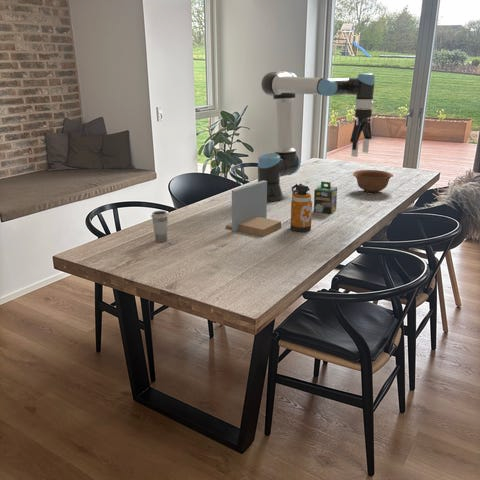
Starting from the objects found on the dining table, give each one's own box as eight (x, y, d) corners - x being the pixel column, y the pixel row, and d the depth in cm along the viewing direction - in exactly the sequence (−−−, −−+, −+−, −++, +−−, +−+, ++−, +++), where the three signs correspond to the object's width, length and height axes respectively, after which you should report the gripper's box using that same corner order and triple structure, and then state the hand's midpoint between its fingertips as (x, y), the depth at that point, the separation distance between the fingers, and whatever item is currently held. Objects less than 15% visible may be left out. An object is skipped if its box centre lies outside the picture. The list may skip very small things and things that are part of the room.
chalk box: (336, 209, 244) (338, 180, 239) (331, 214, 236) (333, 184, 231) (318, 207, 248) (320, 178, 243) (312, 212, 240) (314, 182, 235)
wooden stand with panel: (223, 228, 215) (222, 188, 209) (254, 216, 233) (254, 179, 227) (260, 237, 204) (261, 195, 198) (290, 223, 222) (291, 184, 216)
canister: (297, 233, 209) (299, 188, 202) (283, 226, 218) (285, 182, 211) (315, 230, 213) (317, 185, 206) (300, 223, 222) (302, 180, 215)
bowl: (348, 195, 271) (349, 175, 267) (355, 186, 290) (356, 168, 286) (389, 198, 263) (391, 178, 259) (393, 189, 282) (395, 170, 278)
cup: (161, 244, 197) (160, 216, 193) (149, 241, 200) (147, 213, 196) (173, 239, 202) (171, 211, 198) (160, 236, 206) (159, 209, 202)
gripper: (361, 111, 215) (357, 159, 222) (381, 107, 234) (376, 151, 241) (345, 110, 219) (341, 157, 226) (366, 106, 238) (362, 150, 245)
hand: (359, 154), depth 234 cm, fingers open, 13 cm apart
